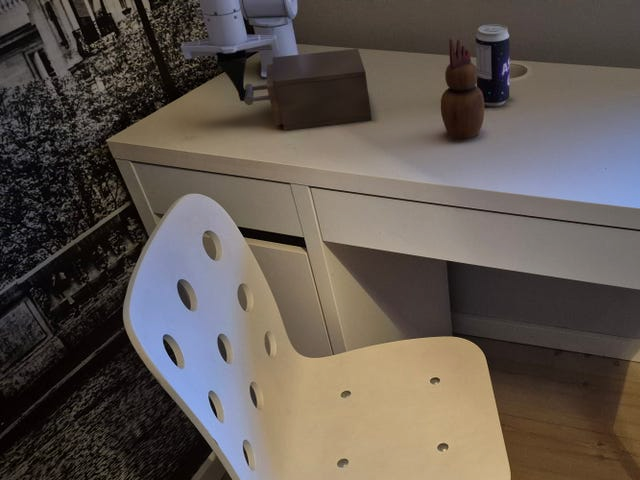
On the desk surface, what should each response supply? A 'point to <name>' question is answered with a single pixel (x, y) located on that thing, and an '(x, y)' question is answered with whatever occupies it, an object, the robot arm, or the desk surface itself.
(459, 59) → the wooden figurine
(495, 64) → the beverage can
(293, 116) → the cabinet
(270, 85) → the drawer
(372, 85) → the desk surface
